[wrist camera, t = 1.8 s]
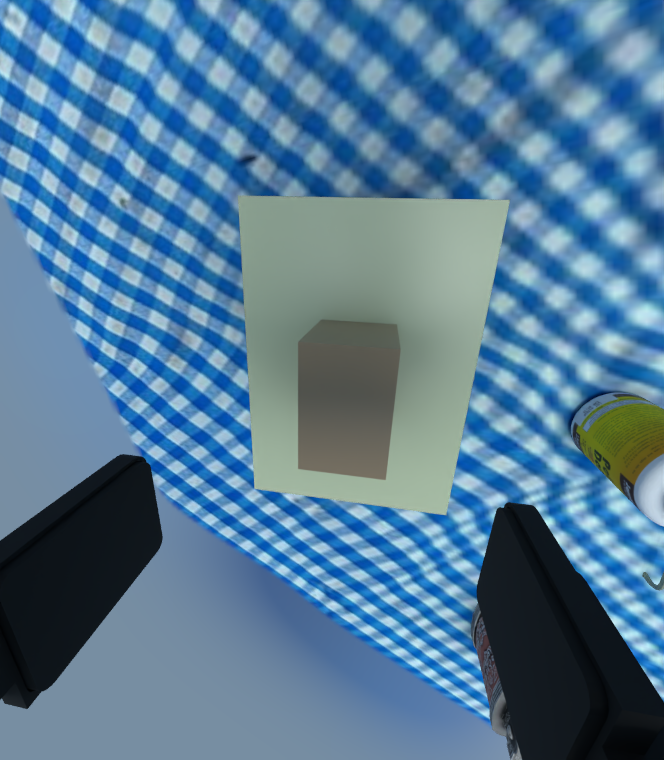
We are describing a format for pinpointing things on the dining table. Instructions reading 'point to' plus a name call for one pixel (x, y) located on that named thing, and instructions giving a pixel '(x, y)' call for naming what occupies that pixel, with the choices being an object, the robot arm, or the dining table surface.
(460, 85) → the dining table surface
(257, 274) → the lid
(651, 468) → the supplement bottle
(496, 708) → the lighter
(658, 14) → the dining table surface
